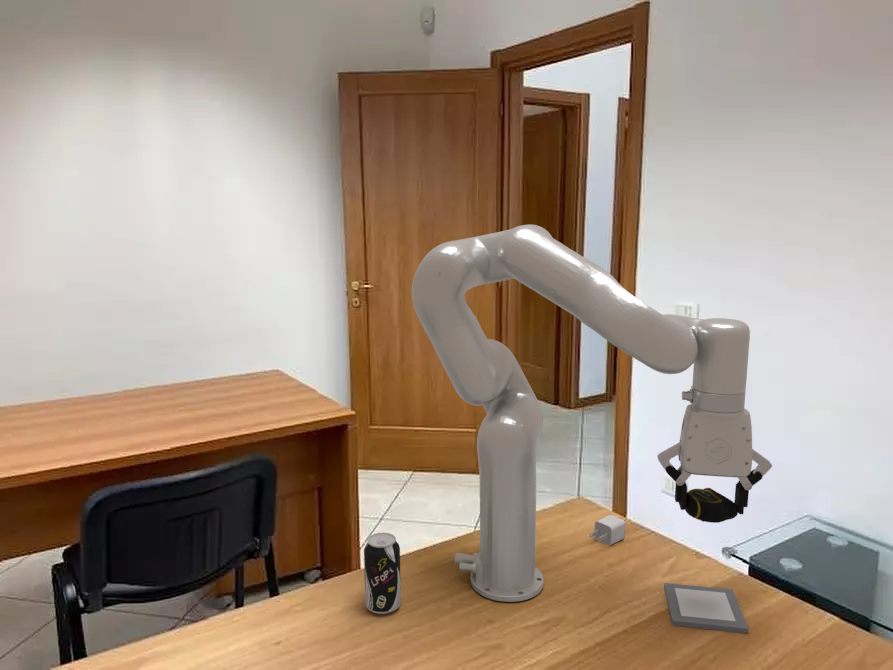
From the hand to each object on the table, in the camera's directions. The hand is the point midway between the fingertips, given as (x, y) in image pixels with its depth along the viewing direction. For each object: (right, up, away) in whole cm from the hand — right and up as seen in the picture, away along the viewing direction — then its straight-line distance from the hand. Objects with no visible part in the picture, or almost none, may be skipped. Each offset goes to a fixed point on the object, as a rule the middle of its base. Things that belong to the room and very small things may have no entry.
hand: (710, 507), depth 106 cm
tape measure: (0, -2, +1) cm, 2 cm away
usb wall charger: (-10, -13, +26) cm, 31 cm away
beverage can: (-52, -17, +4) cm, 55 cm away
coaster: (0, -17, +3) cm, 17 cm away
